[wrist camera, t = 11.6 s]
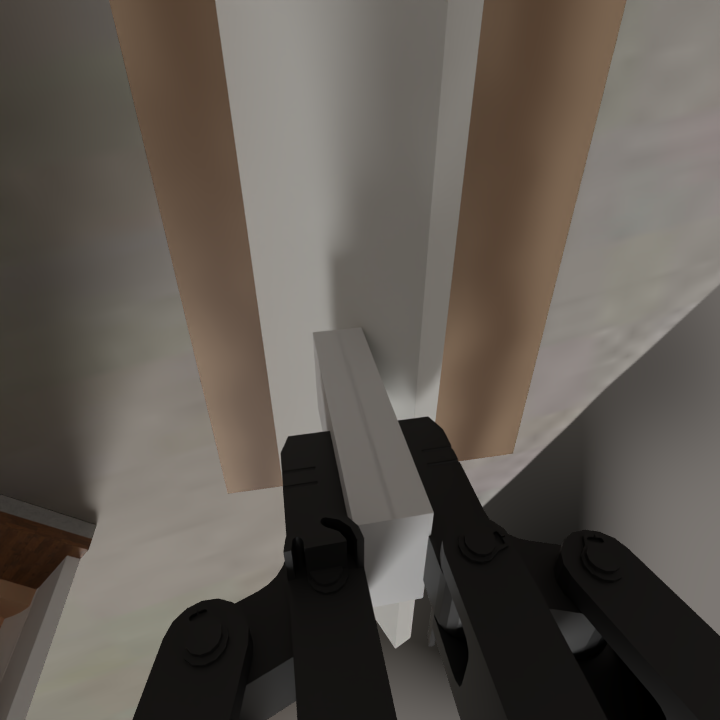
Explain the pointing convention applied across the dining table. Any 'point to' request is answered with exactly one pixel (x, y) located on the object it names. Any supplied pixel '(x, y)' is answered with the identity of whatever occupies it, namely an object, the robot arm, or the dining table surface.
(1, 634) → the wood-lined white cubby
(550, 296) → the wooden tray
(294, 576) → the robot arm
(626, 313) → the dining table surface
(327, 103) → the duct cover
